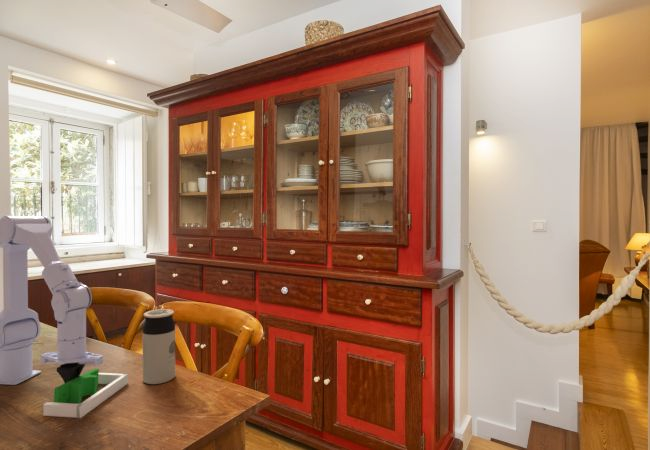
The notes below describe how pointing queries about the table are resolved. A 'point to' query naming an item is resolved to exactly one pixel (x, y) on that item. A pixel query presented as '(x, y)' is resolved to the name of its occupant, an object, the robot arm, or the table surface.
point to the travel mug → (158, 346)
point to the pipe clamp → (77, 388)
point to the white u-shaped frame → (82, 409)
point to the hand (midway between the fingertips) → (72, 392)
